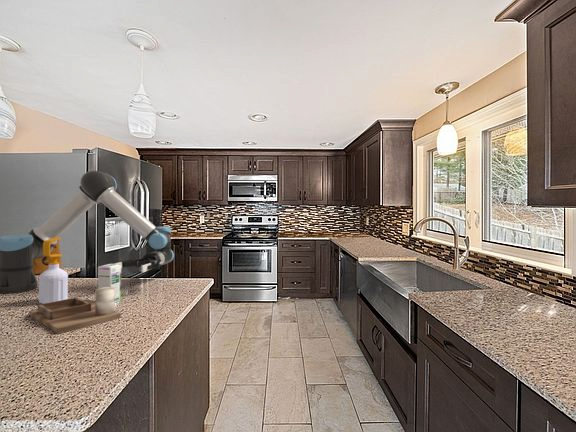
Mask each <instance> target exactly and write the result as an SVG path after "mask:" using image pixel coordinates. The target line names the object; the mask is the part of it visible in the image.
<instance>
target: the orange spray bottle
mask: <svg viewBox="0 0 576 432" xmlns="http://www.w3.org/2000/svg"><path fill="white" fill-rule="evenodd" d="M59 241H60V240H57V243H56V244H55V245H54V246H53V249H52V251H51V252H50V255H53V254H60V255H61V249H60V243H59ZM50 262H51V259H50V257H47V256H45V257H43V258H40V259H35V260H33V272H34V274H35V275H40V274H41V273H43V272H44V271H46V270H47V269H48V268H49V263H50ZM57 262H59V268H60V269H62V256H58V259H57Z"/></svg>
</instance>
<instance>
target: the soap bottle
mask: <svg viewBox="0 0 576 432" xmlns="http://www.w3.org/2000/svg"><path fill="white" fill-rule="evenodd" d="M61 239H62V238H61V237H60V236H59V237H54V238H51V239H48V240H46V241H44V242H43V255H44V256H47V257H50V259H51V262H50V263H49V268H48V269H47V270H46V271H44V272H43V273H41V274H39V277H38V303H39V304H44V303H50V302H55V301H60V300H66V299H69V297H68V295H69V294H68V293H69V289H68V288H69V274H68V272H67V271H66V270H64V269H62V268H61V269H60V268H59V262H57V259H58V256H61V257H63V254H61V253H60V254H53V255H50V245H51V243H52V242H54V241H57V240H59V241H60V240H61Z"/></svg>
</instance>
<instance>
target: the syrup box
mask: <svg viewBox="0 0 576 432" xmlns="http://www.w3.org/2000/svg"><path fill="white" fill-rule="evenodd" d="M103 287H113V288H115V302H114V304H115V303H117V302H120V301H122V268H121V265H120V264H115V263H108V264H104V265H99V266H98V267H97V289H98V288H103Z"/></svg>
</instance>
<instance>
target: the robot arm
mask: <svg viewBox="0 0 576 432" xmlns="http://www.w3.org/2000/svg"><path fill="white" fill-rule="evenodd" d="M117 184H118V183H117V181H116V179H115V178H114V177H113V176H112V175H110V174H109V173H107V172H102V171H100V170H88V171H87V172H85V173H84V174H82V176H81V177H80V185H79V186H78V192H77V193H76V194H75V195H73V197H71V198H70V199H69V200H68V201H67V202H66V203H65V204H64V205H63V206H61V207H60V208H59V209H58V210H57V211H56V212H55V213H54V214H53V215H52V216H51V217H49V218H48V219H47V220H46V221H45V222H44V223H43V224H42V225H41V226H38V227H37V226H36V227H33V228H32V229H31V230H30V231H28V233H13V234H12V233H11V234H6V235H2V236H0V294H11V293H13V294H14V293H21V292H26V291H30V290H34V289H37V288H39V281H38V279H37V277H36V274H34V272H33V260H35V259H40V258H43V257H45V256H44V255H43V242H44V241H46V240H48V239H51V238H54V237H60V236H62V235H63V233H65V232H66V231H67V230H68V229H69V228H70V227H71V226H72V225H73V224H74V223H75V222H76V221H78V220H79V219H80V217H83V216H84V214H85V213H86V212H87V211H89V210H90V209H91V207H92V206H94V205H95V204H100V203H102V204H103V205H104V206H105V207H106V208H108V210H110V211H111V212H112V213H113V214H115V216H117V217H118V218H119V219H120V220H122V221H123V222H124V223H125V224H127V226H129V227H130V228H131V229H132V230H134V231H135V232H136V233H137V234H138V235H140V236H141V237H142V238H143V239H144V240H145V241H146V242H147V243H148V244H149V246H150V247H151V248H152V249H154V250H155V251H152V252H149V253H145V254H144V255H143V256H142V257H140V258H132V259H124V260H117V261H115V263H114V264H120V265H121V269H123V268H128V267H136V268H137V267H141V271H140V272H141V273H145V272H148V271H151V270H154V269H156V270H159V269H160V267H161V266H163V265H166V264H167V265H168V263H171V262H172V261H173V260H174V258H175V253H174V251H173V250H172V249H171V247H172V245H171V242H172V240H171V239H172V231H171V230H172V229H171V227H170V226H155V224H153V222H152V221H150V220H149V219H148V218H147V217H146V216H144V215H143V214H142V213H141V212H140V211H139V210H137V208H135V207H134V206H133V205H132V204H131V203H129V202H128V201H127V200H126V199H125V198H123V197H122V196H121V195H120V194H119V193H118V192H116V190H117V187H118V185H117ZM56 243H57V241H54V242H52V243H51V245H50V252H51V251H52V249H53V246H54V245H55V244H56Z"/></svg>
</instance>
